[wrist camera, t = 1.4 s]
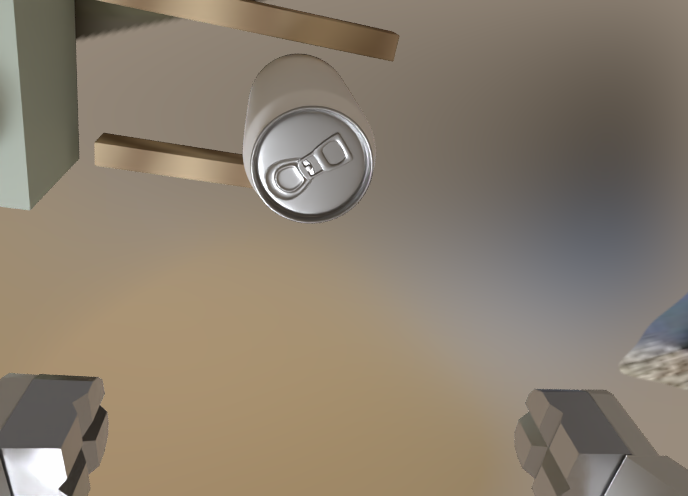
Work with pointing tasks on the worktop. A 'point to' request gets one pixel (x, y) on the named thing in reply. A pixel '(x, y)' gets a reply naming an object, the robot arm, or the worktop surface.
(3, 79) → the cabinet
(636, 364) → the worktop surface
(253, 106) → the can
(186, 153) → the rails
